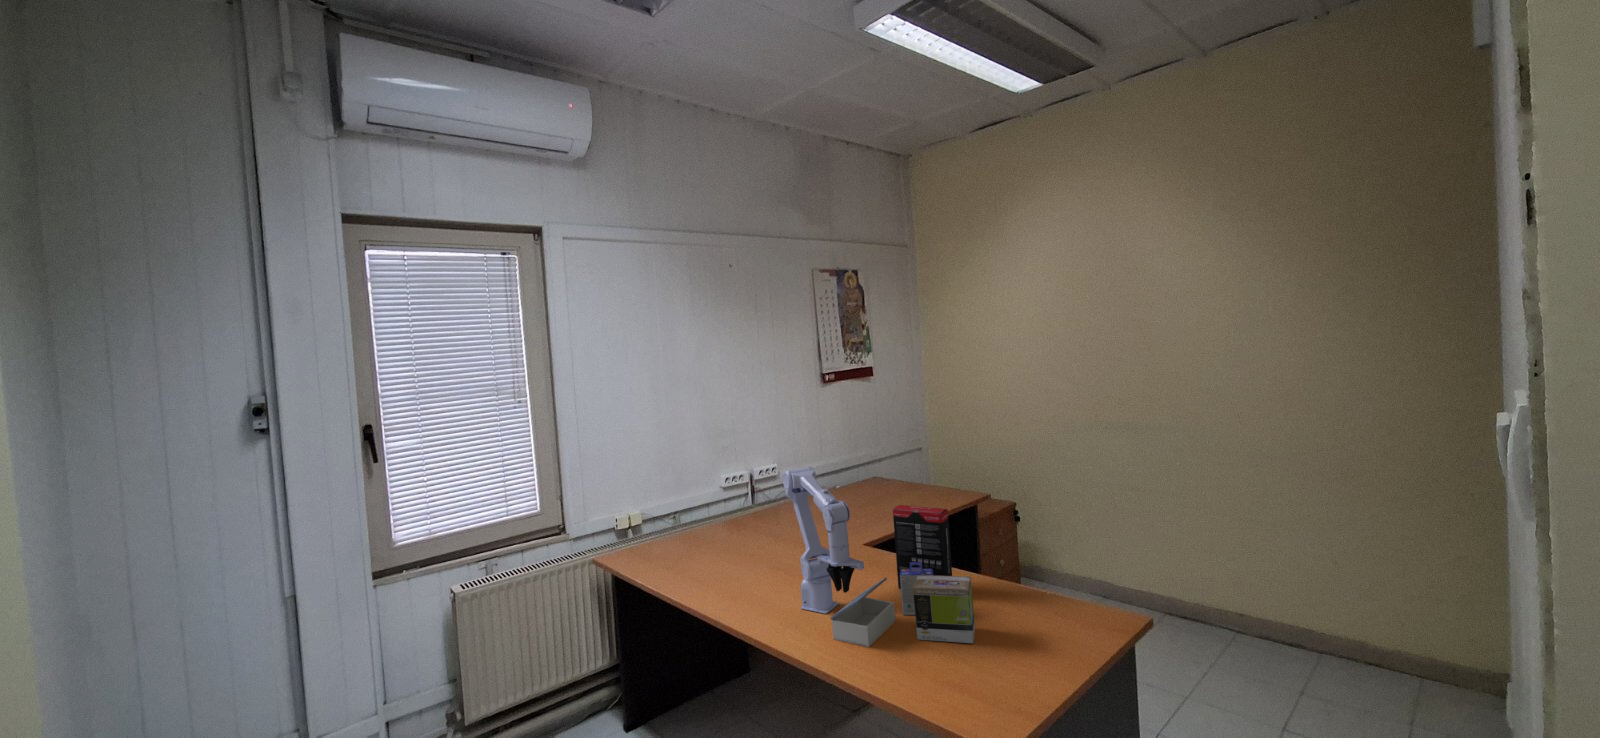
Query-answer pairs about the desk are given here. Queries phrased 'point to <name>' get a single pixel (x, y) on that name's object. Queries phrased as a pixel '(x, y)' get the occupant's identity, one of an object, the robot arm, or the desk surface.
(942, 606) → the tea box
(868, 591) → the box lid
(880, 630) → the storage box
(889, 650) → the desk surface
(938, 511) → the graphics card box
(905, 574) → the ink cartridge box
